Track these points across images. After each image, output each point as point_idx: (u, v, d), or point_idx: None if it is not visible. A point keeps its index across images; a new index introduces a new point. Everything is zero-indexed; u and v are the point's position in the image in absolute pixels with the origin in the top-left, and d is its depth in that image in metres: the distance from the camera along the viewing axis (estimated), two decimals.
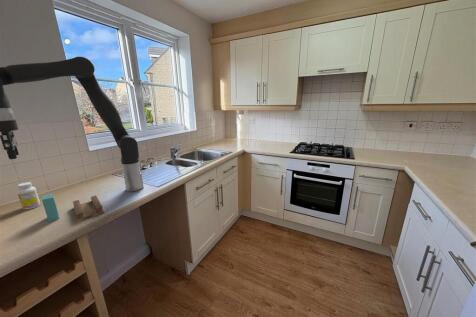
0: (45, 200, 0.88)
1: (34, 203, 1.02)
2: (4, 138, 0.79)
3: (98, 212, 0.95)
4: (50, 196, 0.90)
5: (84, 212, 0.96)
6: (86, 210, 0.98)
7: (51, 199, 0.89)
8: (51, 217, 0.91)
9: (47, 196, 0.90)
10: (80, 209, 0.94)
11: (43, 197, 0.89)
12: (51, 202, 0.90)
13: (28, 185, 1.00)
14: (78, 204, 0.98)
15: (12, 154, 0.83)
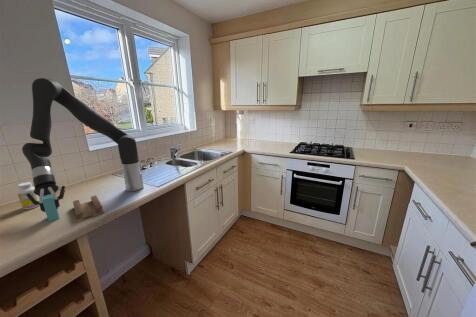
0: (45, 200, 0.88)
1: None
2: (28, 197, 0.89)
3: (98, 212, 0.95)
4: (50, 196, 0.90)
5: (84, 212, 0.96)
6: (86, 210, 0.98)
7: (51, 199, 0.89)
8: (51, 217, 0.91)
9: (47, 196, 0.90)
10: (80, 209, 0.94)
11: (43, 197, 0.89)
12: (51, 202, 0.90)
13: (28, 185, 1.00)
14: (78, 204, 0.98)
15: None
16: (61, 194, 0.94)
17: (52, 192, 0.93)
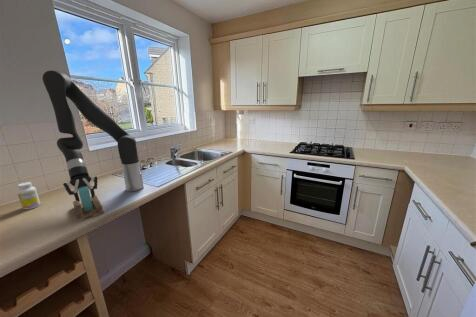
0: (82, 191, 0.94)
1: (34, 203, 1.02)
2: (64, 187, 0.95)
3: (98, 212, 0.95)
4: (85, 188, 0.96)
5: (84, 212, 0.96)
6: None
7: (87, 190, 0.95)
8: (86, 207, 0.97)
9: (83, 188, 0.96)
10: (80, 209, 0.94)
11: (79, 189, 0.95)
12: (87, 193, 0.96)
13: (28, 185, 1.00)
14: (78, 204, 0.98)
15: (75, 197, 0.94)
16: (95, 184, 1.01)
17: (87, 182, 0.99)
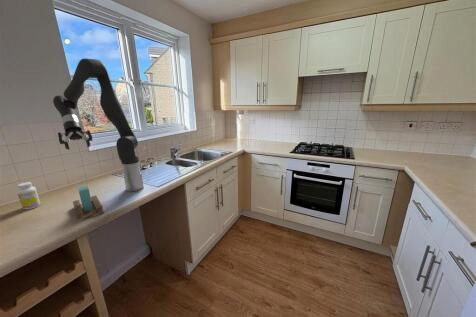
0: (82, 191, 0.94)
1: (34, 203, 1.02)
2: None
3: (98, 212, 0.95)
4: (85, 188, 0.97)
5: (84, 212, 0.96)
6: None
7: (87, 190, 0.96)
8: (86, 207, 0.97)
9: (83, 188, 0.97)
10: (80, 209, 0.94)
11: (79, 189, 0.96)
12: (87, 193, 0.96)
13: (28, 185, 1.00)
14: (78, 204, 0.98)
15: (65, 145, 1.04)
16: (90, 136, 1.12)
17: (81, 135, 1.10)
